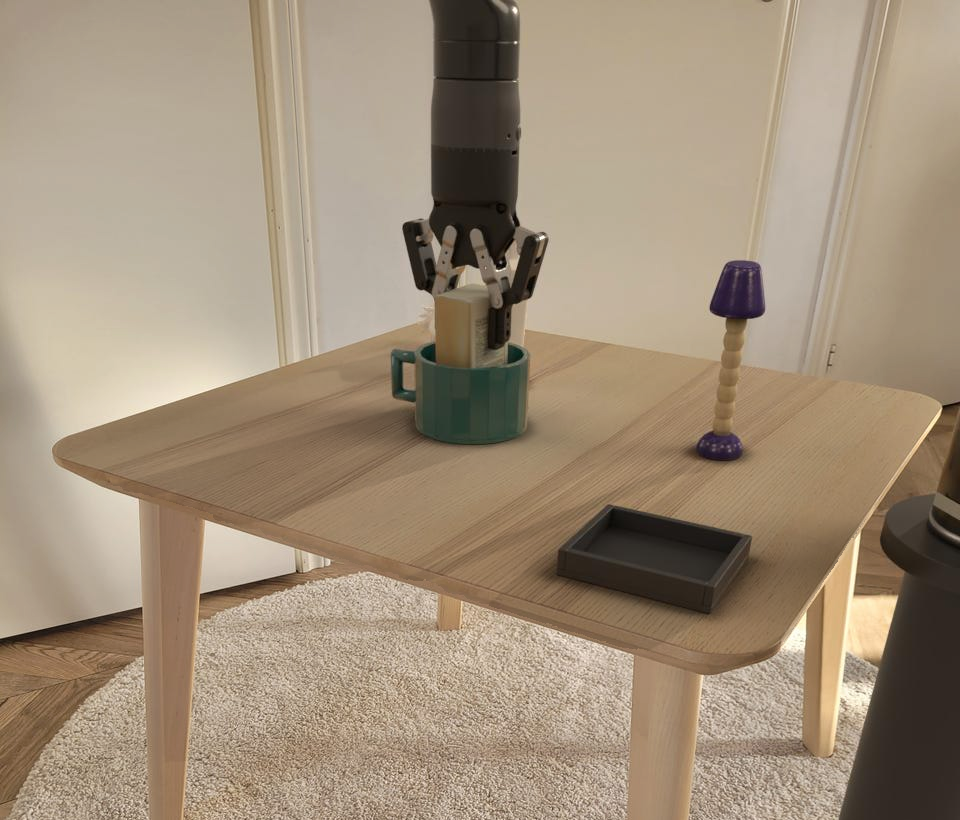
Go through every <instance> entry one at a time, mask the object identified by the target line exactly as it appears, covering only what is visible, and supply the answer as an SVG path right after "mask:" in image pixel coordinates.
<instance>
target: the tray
mask: <svg viewBox="0 0 960 820" xmlns="http://www.w3.org/2000/svg"><path fill="white" fill-rule="evenodd" d="M752 539H753V535H750V534H746V533H745V534H744V533H742V532H737V531H732V530H727V529H725V528H724V529H723V528H719V527H714V526H711V525H706V524H702V523H697V522H692V521H688V520H682V519H678V518H675V517H669V516H665V515H662V514H661V515H660V514H656V513H652V512H646V511H642V510H638V509H633V508H629V507H624V506H619V505H615V504H610V503H607V504H606V505H605V506H603V508H602V509H601V510H600V511H598V512H597V513H596V514H595V515H594V516H593V517H592V518H591V519H589V521H587V522H586V523H585V524H584V525H583V526H582V527H581V528H580V529H579V530H577V532H575V533H574V534H573V535H572V536H571V537H570V538H569V539H568V540H567V541H566V542H565V543H564V544H563V545H562V546H560V547H559V548H558V549H557V561H556V562H557V563H556V575H557V576H560V577H565V578H569V579H572V580H577V581H581V582H585V583H587V584H592V585H597V586H600V587H604V588H608V589H613V590H616V591H619V592H624V593H627V594H632V595H634V596H640V597H643V598H647V599H651V600H655V601H659V602H662V603H667V604H670V605H674V606H678V607H681V608H686V609H690V610H694V611H697V612H701V613H705V614H712V612H713V610H715V608H716V606H717V605H718V603H719V602H720V601H721V599H723V596H724V595H725V594H726V592H727V591H728V589H729V588H730V586H731V585H732V584H733V582H734V580H735V579H736V578H737V576H738V575H739V573H740V572H741V571H742V569H743V568H744V566H745V565H746V563H747V562H749V557H750V551H751V545H752V541H753V540H752Z"/></svg>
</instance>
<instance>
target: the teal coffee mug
mask: <svg viewBox="0 0 960 820" xmlns="http://www.w3.org/2000/svg"><path fill="white" fill-rule="evenodd" d="M404 363H405V364H409V365H410V364H411V365H413V371H414V373H413V374H414V376H413V377H414V379H413V380H414V381H413V382H414V389H409V388H405V385H404ZM530 372H531V353H530V352H529V350H528V349H527V348H525V347H524V346H523V347H521V346H519V345H516V344H513V343H509V342H508V360H507V365H503V366H496V367H488V368H466V367H453V366H447V365H442V364H437V363H436V340H435V341H434V342H430V341H429V342H427V343H424V344H422V345H419V346H417V348H416V349H415V350H409V349H403V348H398V347H397V348H393V349H392V350H391V351H390V375H391V376H390V380H391V384H390V385H391V397H392V398H393V399H394V400H396V401H397V400H398V401H401V402H402V401H403V402H408V403H414V420H415V427H416V429H417V431H418V432H419V433H421V434H422V435H424V436H426V437H428V438H430V439H433V440H437V441H440V442H444V443H451V444H459V445H488V444H496V443H503V442H506V441H510V440H513V439H515V438H517V437H519V436H521V435H522V434H524V433H525V431H526V429H527V425H528V419H529V417H528V415H529V394H530V375H531V373H530Z"/></svg>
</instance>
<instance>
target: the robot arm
mask: <svg viewBox="0 0 960 820" xmlns="http://www.w3.org/2000/svg"><path fill="white" fill-rule="evenodd" d="M428 3H429V7H430V12H431V16H432V23H433V29H432V31H433V33H432V34H433V38H432V39H433V41H432V42H433V43H432V44H433V45H432V47H433V48H432V51H433V52H432V55H433V57H432V58H433V59H432V60H433V63H432V64H433V65H432V66H433V67H432V68H433V70H432V71H433V77H434V78H433V80H432V81H433V85H432V95H431V103H430V193H431V194H430V195H431V197H432V200H433V201H432V202H433V205H432V209H431V212H430V213H429V217H428V218H425V219H424V218H422V217H421V218H416V219H412V220H409V221H406V222H404V223H403V224H402V227H401V231H402V234H403V238H404V244H405V247H406V252H407V256H408V260H409V264H410V268H411V273H412V277H413V281H414V286H415V288H416V289H417V290H418V291H425V292H426V293H428V294H430V295H431V296H432V298H433V300H434V302H435V295H438V294H441V293H444V292H447V291H450V290H453V289H456V288H458V285H459V283H460V279H461V276H462V274H463V273H464V271H465V270H466V266H470V267H472V268H473V269H478V270H479V273H480V276H481V280H482V282H483V283H484V285H487V289H488V293H489V297H490V301H491V304H492V306H493V307H492V308H489V326H488V348H489V349H493V350H498V349H500V348H502V347H504V345H505V342H508V341H509V339H510V336H511V311H512V306H513V304H518V303H520V302H522V301H524V300H527V299H528V300H529V299H532V297H533V295H534V292H535V289H536V286H537V281H538V278H539V275H540V272H541V268H542V265H543V261H544V258H545V255H546V251H547V247H548V244H549V241H550V239H549V235H548V234H547V233H546V232H545V231H539V232H535V231H532V230H530V229H528V228H526V227H524V226H521V221H520V218H519V217H518V213H517V202H518V197H519V175H520V174H519V172H520V171H519V170H520V140H521V138H522V128H521V99H520V85H519V84H520V82H519V78H520V52H521V42H520V41H521V16H520V15H521V14H520V8H519V5H518V4H517V2H516V1H515V0H428ZM434 237H435V239H436V240H437V242H438V244H439V246H440V251H439V254H438V258H437V262H436V256H435V252H434V249H433V248H434V247H433V244H432V242H433V240H434ZM514 240H516V242H517V253H518V254H519V255H520V257H519V261H518V264H517V268H516V272H515V275H514V279H513V282H511V277H510V276H511V266H510V262H509V258H508V254H507V250H508V249H509V248H510V246H511V245H512V243H513V242H514ZM494 265H495V267H494ZM934 494H935V497H934V500H933V506H932V507H931V509H930V512H929V516H928V519H927V526H928V528H929V530H930V531H931V532H932V533H933V534H934V535H935V536H936V537H937V538H939V539H940V540H942V541H943V542H945V543H947V544H949V545H951V546H953V547H955V548H957V549H960V407H959V409H958V412H957V416H956V419H955V423H954V426H953V430H952V434H951V437H950V440H949V445H948V448H947V452H946V455H945V459H944V462H943V466H942V471H941V474H940V477H939V481H938V484H937V489H936V491H935V493H934Z"/></svg>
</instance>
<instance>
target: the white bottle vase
mask: <svg viewBox="0 0 960 820" xmlns="http://www.w3.org/2000/svg"><path fill="white" fill-rule="evenodd" d="M507 254H508V258H509V262H510V266H511V276H510V277H511V282H513V279H514V275H515V272H516V268H517V264H518V261H519V257H520V255H519V254H518V253H517V242H516V240H514V242H513V243H512V245H511V246H510V248H509V249H508V250H507ZM494 267H495V265H494ZM528 302H529V299H527V300H524V301H522V302H520V303H518V304H513V306H512V311H511V336H510V339H509V341H508V342H509V343H513V344H516V345H519V346H521V347H523V348H524V343H525V332H526V324H527V323H526V322H527V313H528Z"/></svg>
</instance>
